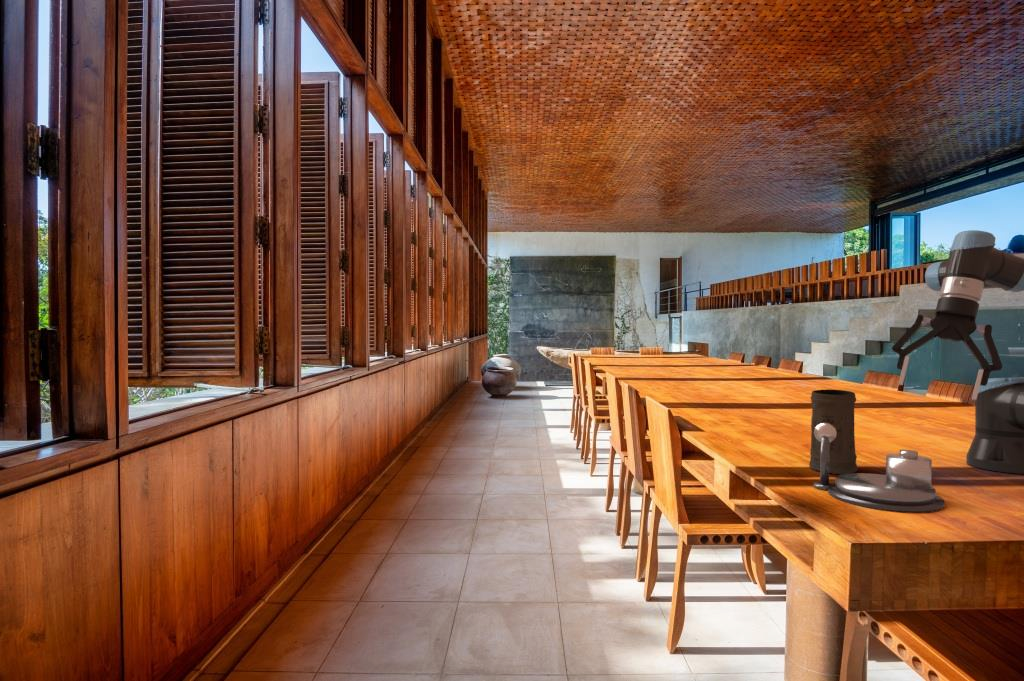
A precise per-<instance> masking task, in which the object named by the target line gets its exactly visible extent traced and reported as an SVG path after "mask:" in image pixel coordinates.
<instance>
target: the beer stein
mask: <svg viewBox="0 0 1024 681" xmlns="http://www.w3.org/2000/svg"><path fill="white" fill-rule="evenodd" d="M810 401H811V410H812V411H811V413H812V414H811V418H810V421H811V422H810V430H811V432H810V434H811V436H810V451H809V454H810V460H809V464H808V466H809V468H810V469H812V470H813V471H816V470H817V472H820V447H821V442H820V441H818V440H817V439H816V437H815V435H814V429H815V427H816V426H817V425H819V424H821V423H829V424H831V425H833V426H834V428H835V429H836V432H837V435H836V438H835V439H834V440H833V441H832V442H830V452H829V473H832V474H831V475H843V474H852V473H856V472H857V471H858V464H857V458H858V457H857V456H858V455H857V453H856V438H855V403H856V402H857V398H856V393H855V392H854V391H852V390H846V389H845V390H843V389H831V388H830V389H829V388H828V389H817V390H812V391H811V396H810Z"/></svg>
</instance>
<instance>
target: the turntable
mask: <svg viewBox="0 0 1024 681" xmlns="http://www.w3.org/2000/svg"><path fill="white" fill-rule="evenodd" d="M834 481H835V482H834V483H835V488H836V490H837V491H838V492H840V493H842V494H844V495H847V496H849V497H853V498H856V499H860V500H864V501H869V502H875V503H881V504H889V505H900V506H922V505H929V504H932V503H934V502H935V501H936V495H937V492H936V491H937V490H936V488H935V487H933V486H932V485H931V488H929V489H910V488H903V487H897V486H893V485H890V484H888V483H886V474H880V473H869V472H868V473H866V472H865V473H863V472H861V473H860V472H859V473H858V472H857V473H856V472H854V473H850V474H838V475H837V476H836V477H835V480H834Z"/></svg>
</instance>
